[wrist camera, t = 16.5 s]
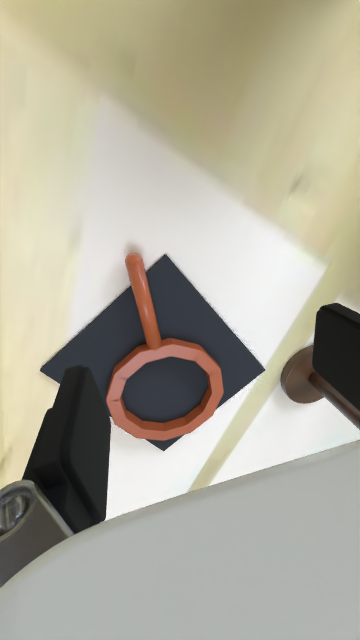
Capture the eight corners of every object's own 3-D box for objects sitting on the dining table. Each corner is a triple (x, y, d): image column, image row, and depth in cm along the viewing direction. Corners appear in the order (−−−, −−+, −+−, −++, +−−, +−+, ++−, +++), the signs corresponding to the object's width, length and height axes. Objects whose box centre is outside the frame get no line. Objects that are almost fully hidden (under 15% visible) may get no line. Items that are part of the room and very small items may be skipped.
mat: (40, 368, 28) (39, 370, 27) (165, 254, 25) (166, 254, 25) (163, 449, 36) (163, 451, 36) (263, 368, 34) (265, 370, 34)
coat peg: (269, 374, 35) (360, 478, 22) (323, 331, 34) (454, 412, 20) (298, 407, 39) (390, 513, 25) (347, 370, 38) (470, 459, 24)
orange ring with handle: (223, 413, 35) (227, 422, 34) (125, 442, 34) (125, 453, 32) (200, 237, 25) (205, 239, 24) (58, 267, 24) (54, 271, 22)
